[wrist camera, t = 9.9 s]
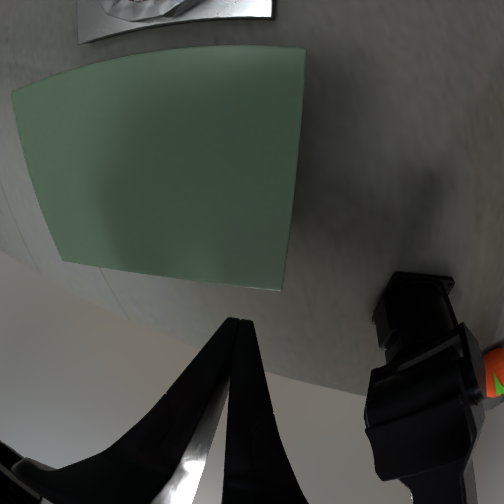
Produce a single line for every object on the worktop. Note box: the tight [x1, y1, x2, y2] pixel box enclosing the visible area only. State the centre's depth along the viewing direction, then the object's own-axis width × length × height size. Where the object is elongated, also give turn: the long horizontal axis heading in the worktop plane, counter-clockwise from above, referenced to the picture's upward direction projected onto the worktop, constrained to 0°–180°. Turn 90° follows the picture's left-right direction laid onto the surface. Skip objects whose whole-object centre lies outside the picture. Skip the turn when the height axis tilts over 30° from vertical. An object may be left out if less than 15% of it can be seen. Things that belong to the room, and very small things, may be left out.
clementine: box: [483, 348, 504, 397], centre depth 26 cm, size 8×7×7 cm
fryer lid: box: [11, 45, 307, 291], centre depth 12 cm, size 14×12×1 cm
